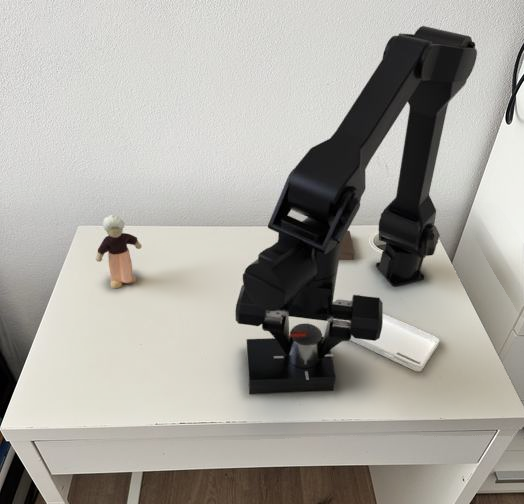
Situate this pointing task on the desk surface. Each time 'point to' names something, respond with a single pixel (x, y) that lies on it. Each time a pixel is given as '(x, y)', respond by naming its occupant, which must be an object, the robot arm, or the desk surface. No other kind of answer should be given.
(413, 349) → the phone case
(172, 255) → the desk surface
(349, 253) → the control block
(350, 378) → the desk surface
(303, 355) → the hob knob
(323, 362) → the panel
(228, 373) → the desk surface
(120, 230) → the grandmother figurine
